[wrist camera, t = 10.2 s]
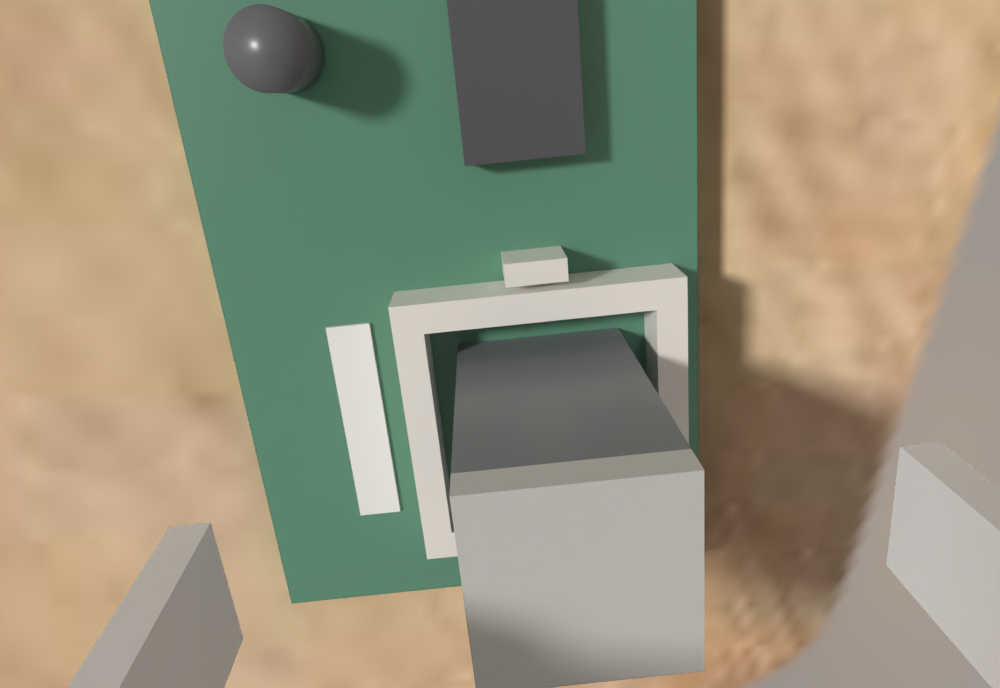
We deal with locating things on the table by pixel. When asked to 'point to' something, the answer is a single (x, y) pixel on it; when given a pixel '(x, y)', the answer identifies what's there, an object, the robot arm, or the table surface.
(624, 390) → the block
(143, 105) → the table surface
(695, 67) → the board
